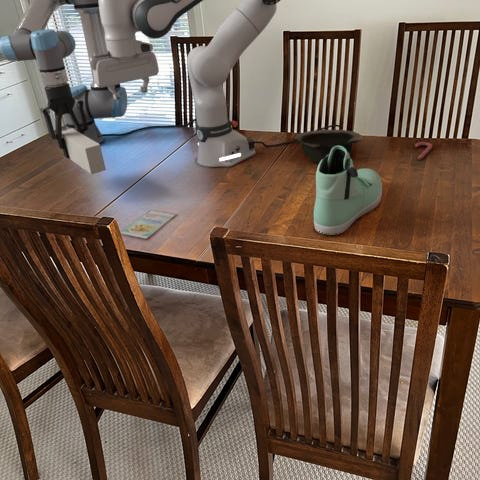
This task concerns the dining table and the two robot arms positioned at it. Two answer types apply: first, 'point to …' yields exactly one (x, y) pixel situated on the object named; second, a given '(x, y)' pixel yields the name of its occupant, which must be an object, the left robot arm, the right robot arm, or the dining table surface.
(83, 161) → the bar
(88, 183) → the dining table surface
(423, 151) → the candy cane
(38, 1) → the left robot arm
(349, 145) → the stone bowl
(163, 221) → the baking ingredient package
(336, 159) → the sneaker
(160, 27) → the right robot arm
